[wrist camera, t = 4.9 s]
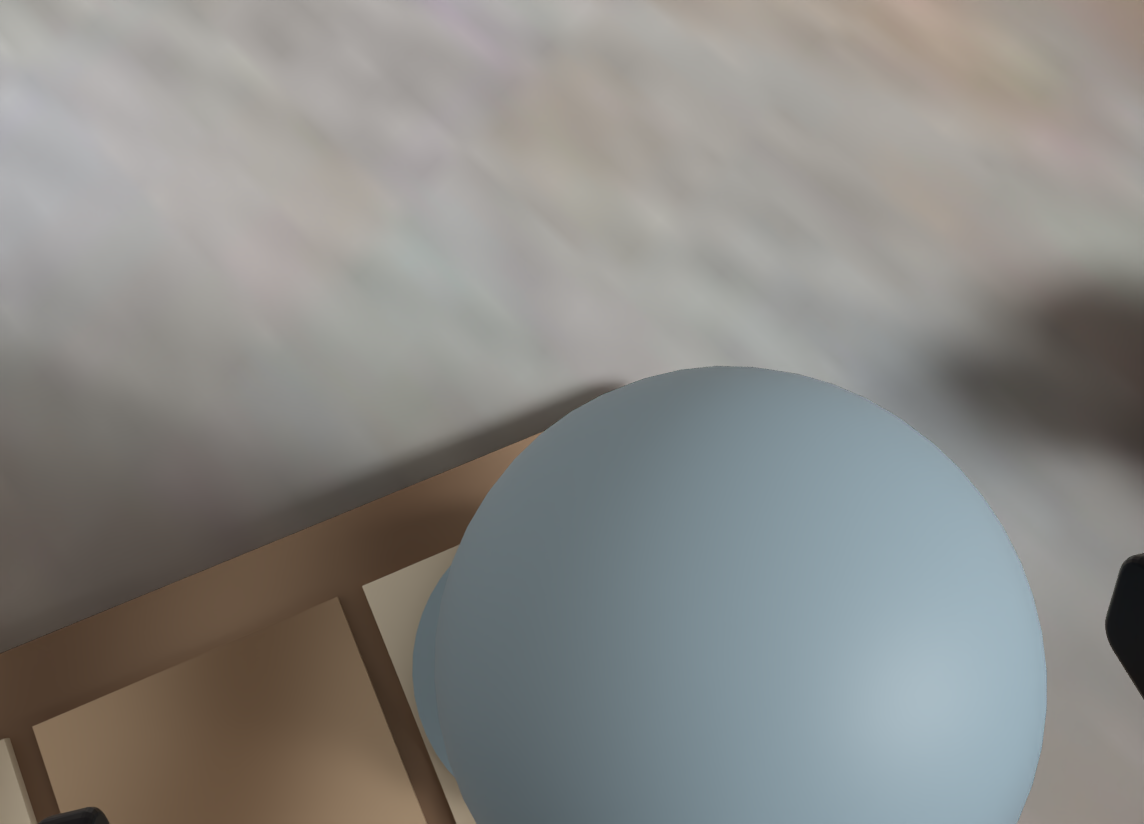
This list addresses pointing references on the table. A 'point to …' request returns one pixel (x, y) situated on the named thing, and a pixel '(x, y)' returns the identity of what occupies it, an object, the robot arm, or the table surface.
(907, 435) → the pawn
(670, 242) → the table surface
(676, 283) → the table surface
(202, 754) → the board
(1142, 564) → the robot arm
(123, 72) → the table surface
